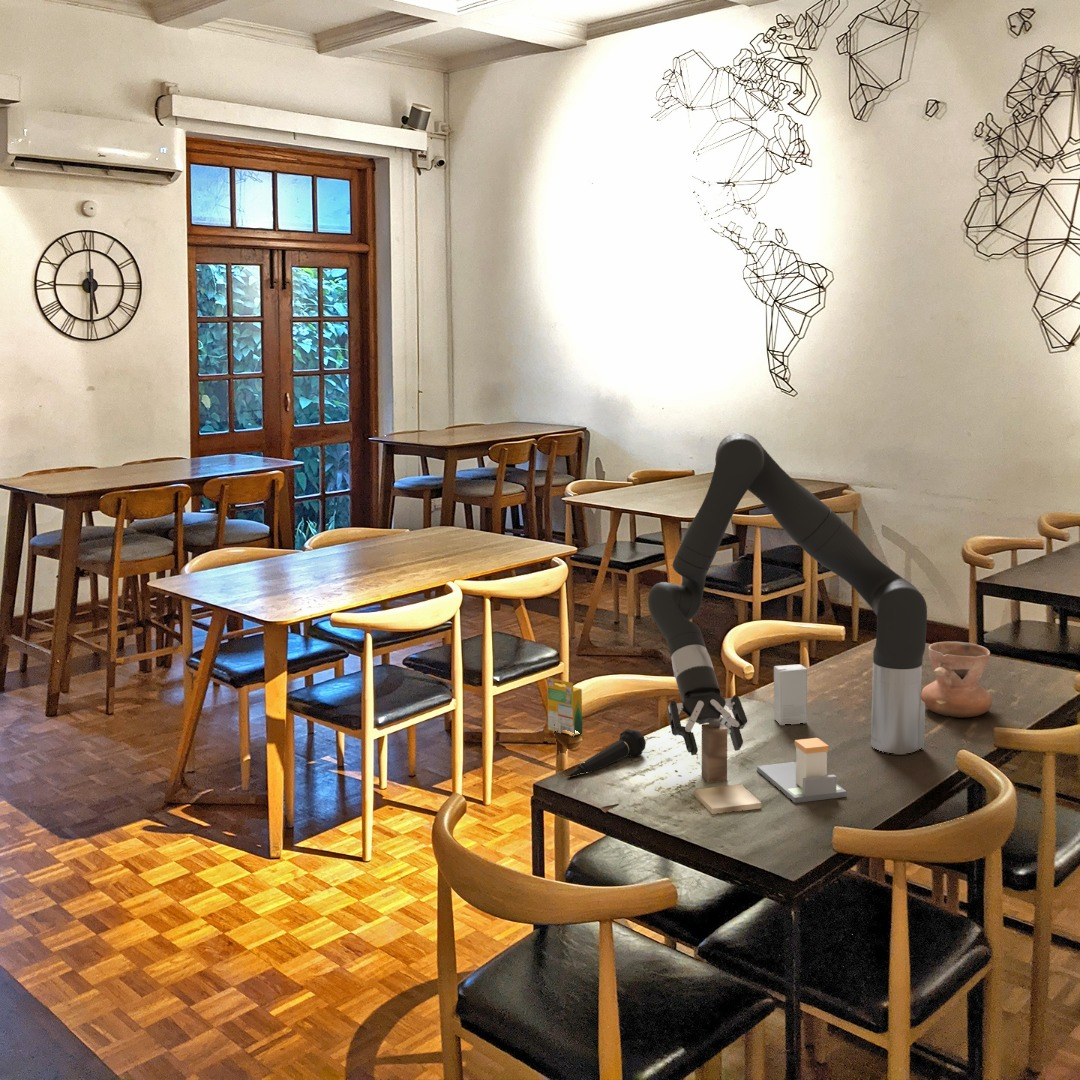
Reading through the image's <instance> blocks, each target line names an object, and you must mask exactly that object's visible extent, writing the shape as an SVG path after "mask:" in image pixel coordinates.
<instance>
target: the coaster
mask: <svg viewBox="0 0 1080 1080" xmlns="http://www.w3.org/2000/svg"><path fill="white" fill-rule="evenodd" d="M693 796H695V798H696V799H697V800H698V801H699V802H700V803H701V804H702V805H703V806H704V807H705V808H706V809H707V810H708V812H710V814H712V815H717V813H719V814H724V813H723V812H727V813H733V812H732V811H735V812H741V811H742V810H743V811H748V810H758V809H762V802H761V801H760V800H759V799H758V798H757V797H755V795H753V794H752V793H751V792H750V791H749V790H748V789H747V788H745V787H744V786H743V784H741V783H739V784H732V785H731V784H730V785H721V786H713V787H705V788H696V789H693Z"/></svg>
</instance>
